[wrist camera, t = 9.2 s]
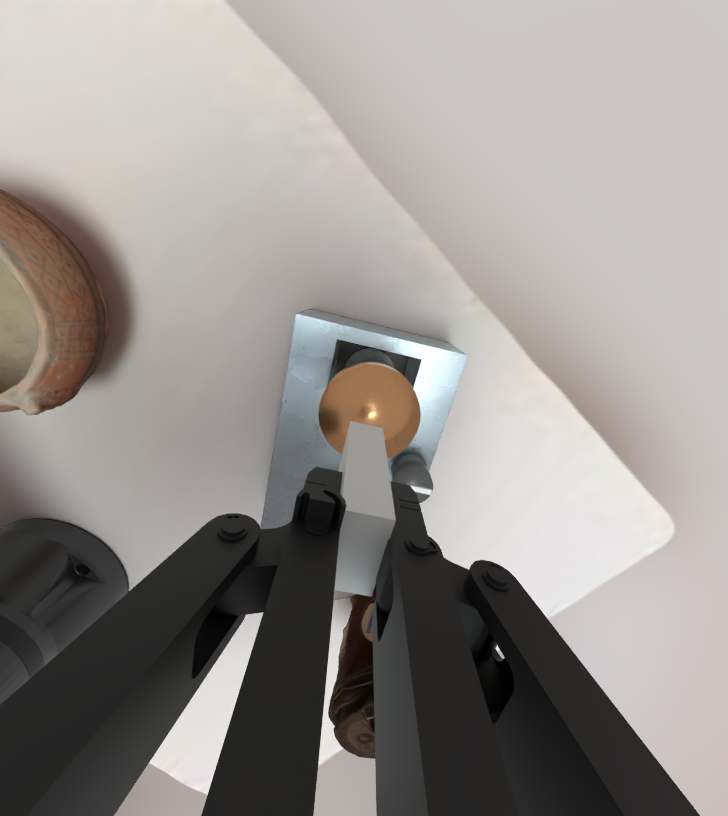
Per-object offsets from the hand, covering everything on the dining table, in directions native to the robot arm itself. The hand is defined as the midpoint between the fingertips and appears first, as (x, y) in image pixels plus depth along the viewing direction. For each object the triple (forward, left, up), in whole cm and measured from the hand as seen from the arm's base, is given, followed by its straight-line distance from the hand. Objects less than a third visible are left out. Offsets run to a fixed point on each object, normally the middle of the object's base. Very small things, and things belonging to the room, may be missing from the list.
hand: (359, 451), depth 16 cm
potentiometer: (+5, -5, -10) cm, 12 cm away
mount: (0, -5, -16) cm, 17 cm away
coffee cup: (+7, -24, -16) cm, 30 cm away
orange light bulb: (0, 0, -14) cm, 14 cm away
